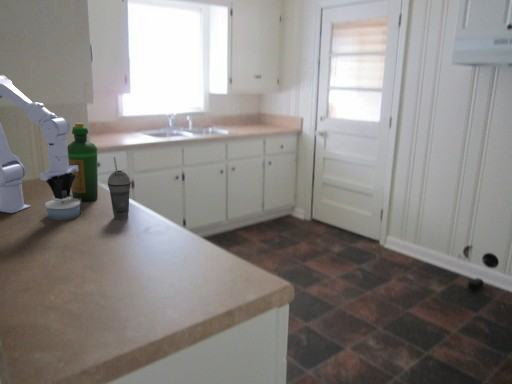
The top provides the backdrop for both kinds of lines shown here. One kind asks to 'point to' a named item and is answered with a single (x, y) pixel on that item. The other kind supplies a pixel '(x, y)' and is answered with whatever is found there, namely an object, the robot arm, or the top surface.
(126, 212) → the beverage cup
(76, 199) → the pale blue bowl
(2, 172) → the robot arm
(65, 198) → the knobbed lid
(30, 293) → the top surface
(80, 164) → the bottle
